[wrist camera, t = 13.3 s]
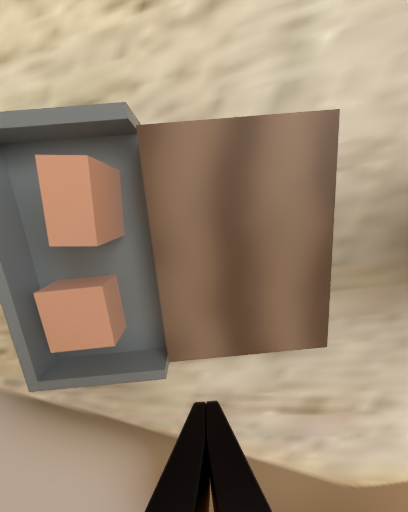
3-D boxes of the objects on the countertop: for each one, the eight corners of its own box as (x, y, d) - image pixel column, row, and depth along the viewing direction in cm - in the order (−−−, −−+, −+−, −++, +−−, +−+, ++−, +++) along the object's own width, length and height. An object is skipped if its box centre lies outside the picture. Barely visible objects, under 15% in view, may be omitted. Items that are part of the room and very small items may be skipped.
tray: (139, 123, 15) (125, 101, 12) (170, 351, 19) (166, 378, 16) (-8, 134, 15) (-60, 116, 12) (55, 362, 19) (29, 391, 16)
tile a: (87, 155, 10) (34, 154, 10) (97, 246, 11) (49, 246, 11) (119, 170, 15) (82, 170, 15) (124, 235, 16) (90, 235, 16)
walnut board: (316, 124, 15) (339, 109, 13) (310, 328, 19) (327, 347, 16) (145, 138, 15) (135, 125, 12) (172, 341, 18) (168, 362, 16)
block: (33, 293, 14) (57, 280, 16) (50, 352, 15) (71, 332, 17) (102, 285, 14) (116, 274, 16) (115, 346, 15) (126, 326, 17)
